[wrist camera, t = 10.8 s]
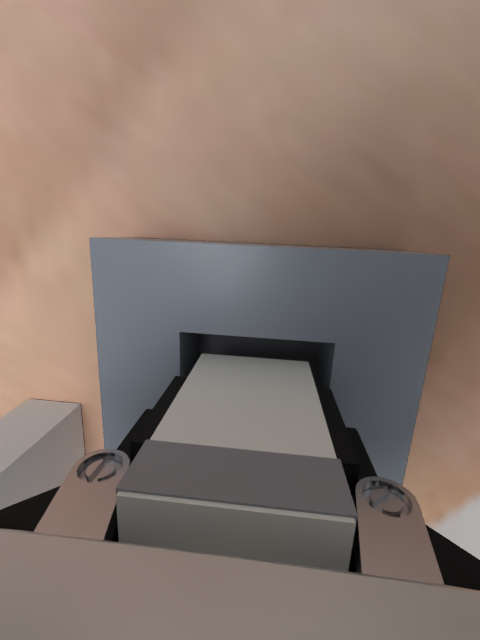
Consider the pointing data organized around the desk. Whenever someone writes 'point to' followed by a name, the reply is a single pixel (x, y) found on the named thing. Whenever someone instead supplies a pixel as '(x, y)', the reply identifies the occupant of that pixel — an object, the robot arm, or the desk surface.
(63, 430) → the pale grey post pair
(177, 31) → the desk surface
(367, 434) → the holder
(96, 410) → the desk surface
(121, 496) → the block
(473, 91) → the desk surface
